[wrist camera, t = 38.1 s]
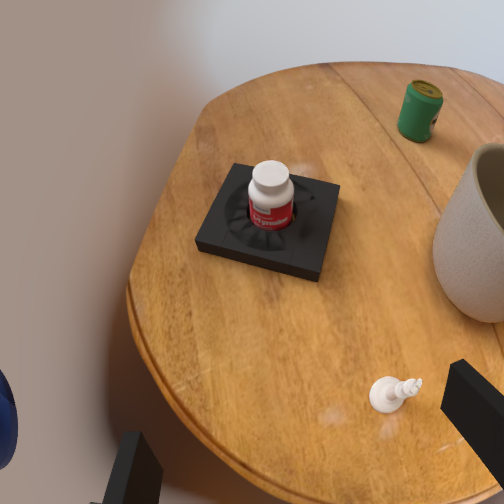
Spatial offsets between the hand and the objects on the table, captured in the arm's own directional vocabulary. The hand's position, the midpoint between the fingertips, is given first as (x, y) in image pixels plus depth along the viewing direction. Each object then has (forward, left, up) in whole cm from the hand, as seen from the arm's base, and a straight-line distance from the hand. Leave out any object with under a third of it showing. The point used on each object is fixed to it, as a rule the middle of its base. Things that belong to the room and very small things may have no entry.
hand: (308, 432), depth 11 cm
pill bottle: (-10, +27, -27) cm, 40 cm away
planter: (+24, +27, -27) cm, 45 cm away
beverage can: (+13, +60, -27) cm, 67 cm away
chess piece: (+12, +6, -27) cm, 30 cm away
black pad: (-10, +27, -27) cm, 40 cm away
